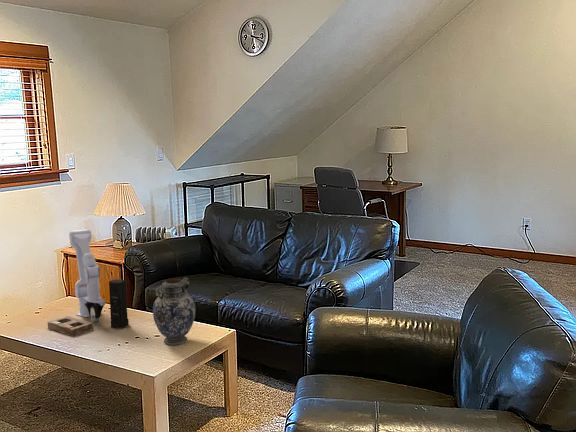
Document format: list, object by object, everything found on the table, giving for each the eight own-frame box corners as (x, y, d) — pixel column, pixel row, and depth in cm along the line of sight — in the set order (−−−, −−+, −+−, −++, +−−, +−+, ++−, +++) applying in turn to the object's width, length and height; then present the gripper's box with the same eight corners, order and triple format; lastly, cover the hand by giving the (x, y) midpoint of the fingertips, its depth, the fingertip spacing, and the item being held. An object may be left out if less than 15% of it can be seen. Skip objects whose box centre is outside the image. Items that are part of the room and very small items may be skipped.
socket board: (68, 321, 283) (67, 315, 282) (93, 329, 271) (92, 322, 271) (47, 328, 274) (47, 321, 274) (72, 336, 263) (72, 329, 262)
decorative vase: (174, 330, 268) (172, 272, 263) (206, 336, 259) (204, 277, 255) (142, 345, 249) (140, 283, 245) (176, 353, 241) (174, 289, 236)
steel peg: (96, 321, 283) (95, 305, 282) (101, 322, 281) (100, 306, 280) (89, 323, 280) (88, 307, 279) (94, 324, 278) (93, 308, 277)
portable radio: (108, 327, 274) (105, 276, 270) (116, 323, 279) (113, 273, 276) (121, 329, 271) (118, 278, 267) (129, 325, 276) (126, 275, 273)
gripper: (109, 290, 277) (111, 317, 279) (91, 286, 286) (93, 312, 288) (97, 294, 272) (99, 321, 274) (79, 289, 280) (80, 316, 282)
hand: (95, 317), depth 280 cm, fingers open, 4 cm apart
